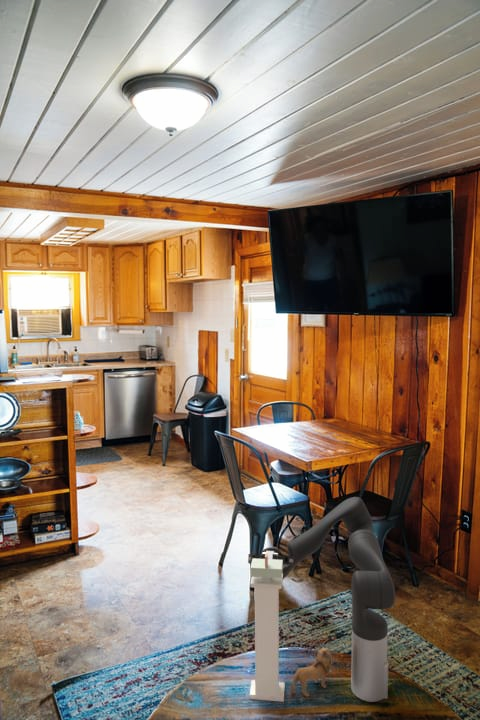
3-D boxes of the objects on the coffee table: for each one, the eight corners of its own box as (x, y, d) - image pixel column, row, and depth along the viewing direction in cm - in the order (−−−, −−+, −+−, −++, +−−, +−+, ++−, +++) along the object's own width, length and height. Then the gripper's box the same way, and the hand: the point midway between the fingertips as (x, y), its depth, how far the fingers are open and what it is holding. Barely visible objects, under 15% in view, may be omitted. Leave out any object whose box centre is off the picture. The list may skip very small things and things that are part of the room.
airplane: (284, 557, 153) (284, 533, 152) (281, 584, 139) (281, 558, 138) (255, 556, 154) (255, 532, 153) (250, 583, 140) (250, 556, 139)
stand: (284, 685, 148) (284, 573, 145) (283, 702, 143) (283, 585, 139) (251, 683, 150) (250, 571, 146) (249, 699, 144) (248, 583, 140)
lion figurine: (322, 671, 154) (322, 641, 153) (336, 681, 150) (336, 651, 149) (284, 695, 145) (284, 664, 144) (298, 707, 141) (298, 675, 140)
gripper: (295, 575, 162) (293, 573, 146) (248, 573, 163) (242, 571, 148) (295, 549, 165) (294, 544, 149) (249, 547, 166) (243, 542, 150)
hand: (268, 557), depth 148 cm, fingers closed on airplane
